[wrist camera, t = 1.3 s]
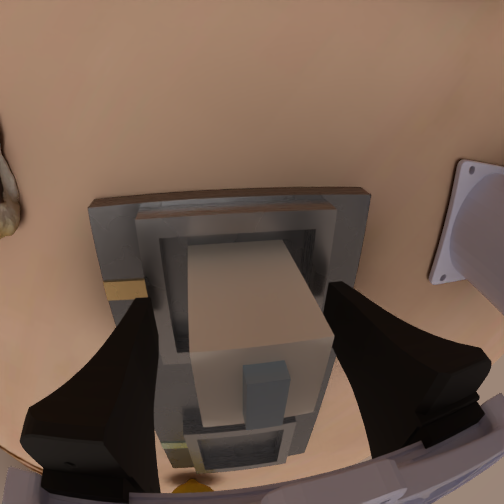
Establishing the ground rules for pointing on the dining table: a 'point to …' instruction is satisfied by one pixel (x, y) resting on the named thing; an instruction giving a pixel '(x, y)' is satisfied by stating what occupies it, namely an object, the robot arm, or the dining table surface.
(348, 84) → the dining table surface
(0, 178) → the pastry
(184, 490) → the lemon
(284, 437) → the panel
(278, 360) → the plug
